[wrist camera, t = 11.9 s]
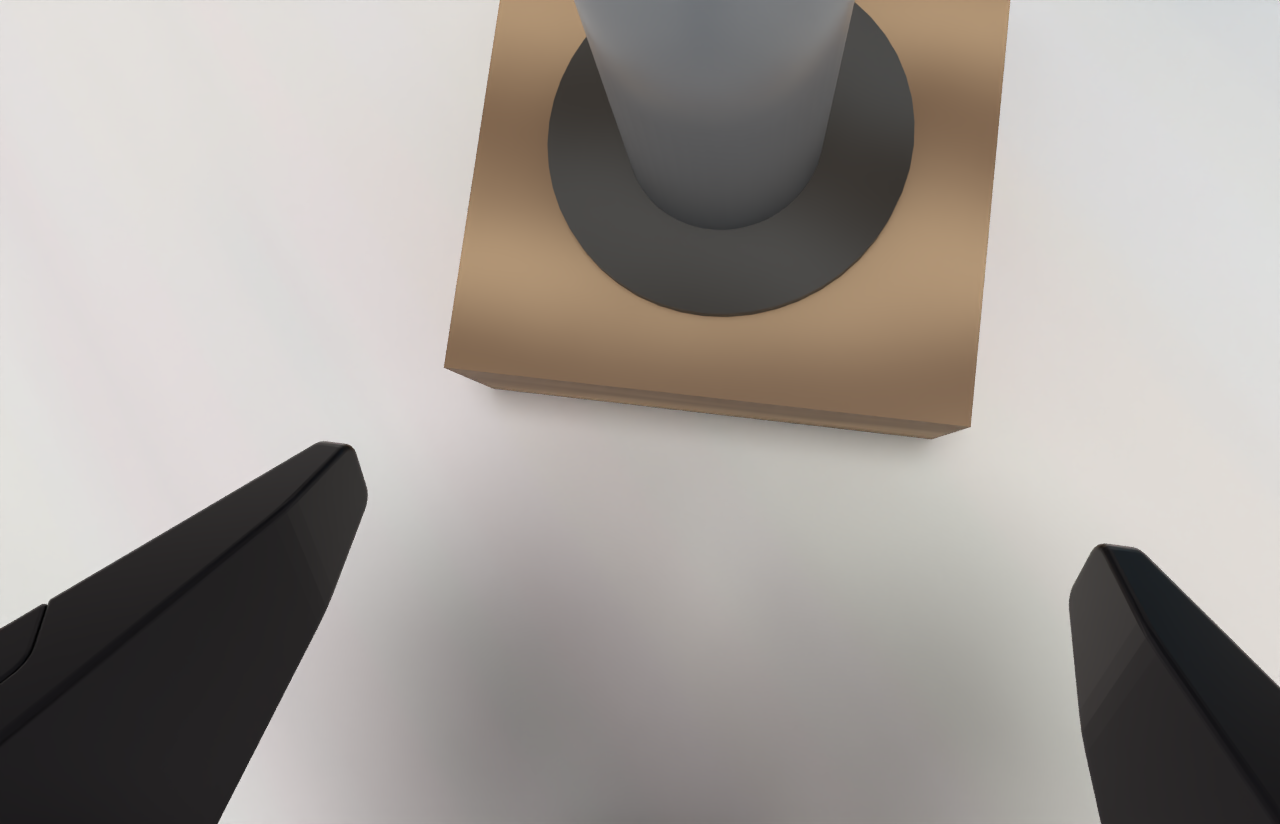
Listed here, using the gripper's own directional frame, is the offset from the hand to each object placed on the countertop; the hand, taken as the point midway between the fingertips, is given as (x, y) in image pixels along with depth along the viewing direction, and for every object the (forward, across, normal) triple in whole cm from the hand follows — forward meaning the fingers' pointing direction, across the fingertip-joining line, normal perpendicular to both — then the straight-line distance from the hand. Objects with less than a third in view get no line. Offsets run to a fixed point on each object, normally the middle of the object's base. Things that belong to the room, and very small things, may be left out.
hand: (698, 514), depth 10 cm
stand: (+16, +1, +3) cm, 16 cm away
